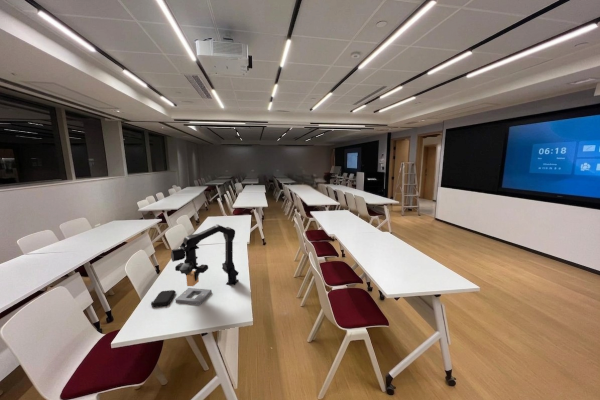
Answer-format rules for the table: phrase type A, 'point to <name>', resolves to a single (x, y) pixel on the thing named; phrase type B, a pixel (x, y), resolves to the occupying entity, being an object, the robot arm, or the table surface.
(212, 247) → the table surface
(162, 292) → the carrying case or bag
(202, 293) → the socket board
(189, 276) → the plug
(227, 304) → the table surface
